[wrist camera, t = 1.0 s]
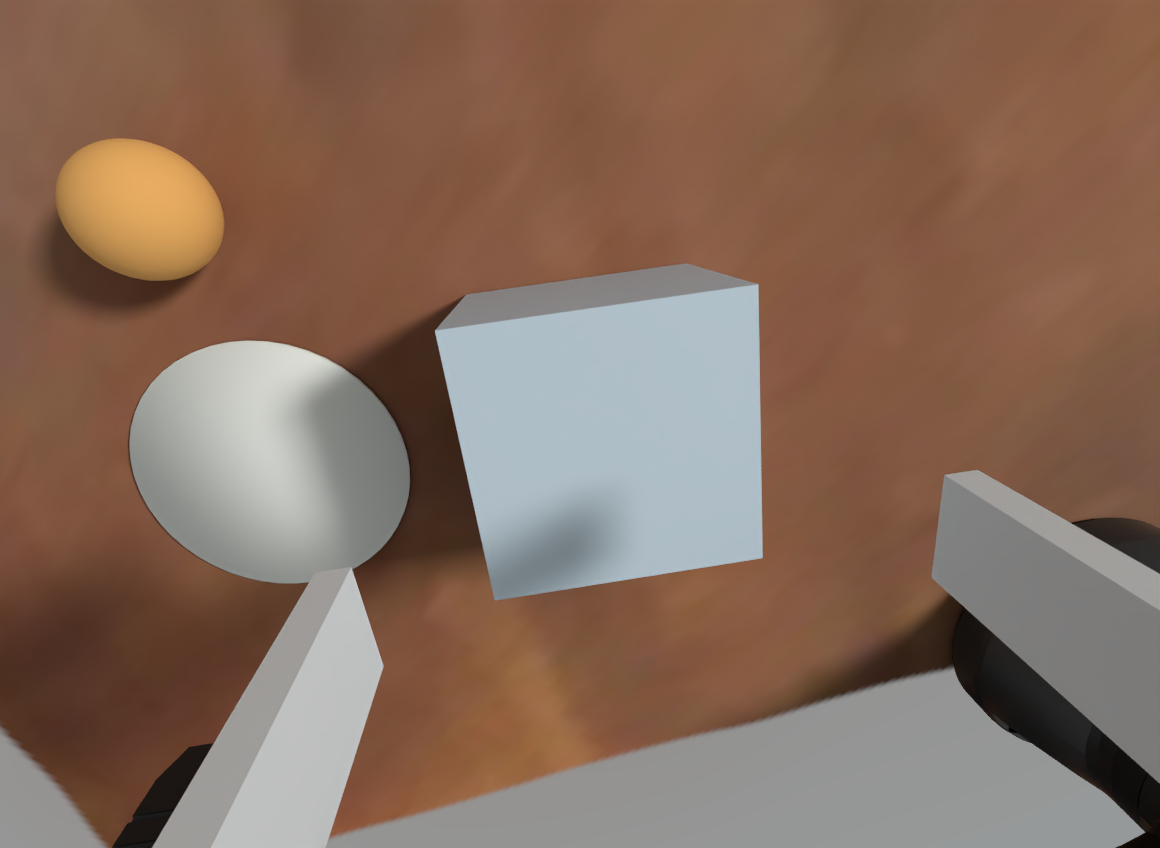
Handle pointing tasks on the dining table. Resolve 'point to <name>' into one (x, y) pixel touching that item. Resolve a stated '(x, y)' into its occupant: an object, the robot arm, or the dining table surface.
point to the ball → (139, 209)
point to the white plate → (269, 461)
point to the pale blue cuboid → (609, 425)
